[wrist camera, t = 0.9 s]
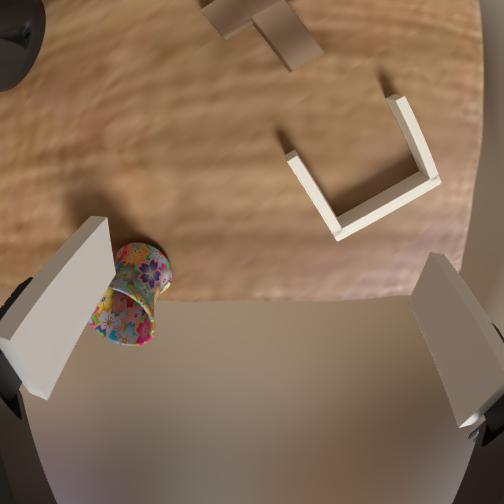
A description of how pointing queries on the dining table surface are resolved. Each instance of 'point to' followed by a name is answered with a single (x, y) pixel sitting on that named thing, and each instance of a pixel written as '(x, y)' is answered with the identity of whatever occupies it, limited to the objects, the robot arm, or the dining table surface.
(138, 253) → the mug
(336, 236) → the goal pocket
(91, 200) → the dining table surface
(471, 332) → the robot arm
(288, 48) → the t block
